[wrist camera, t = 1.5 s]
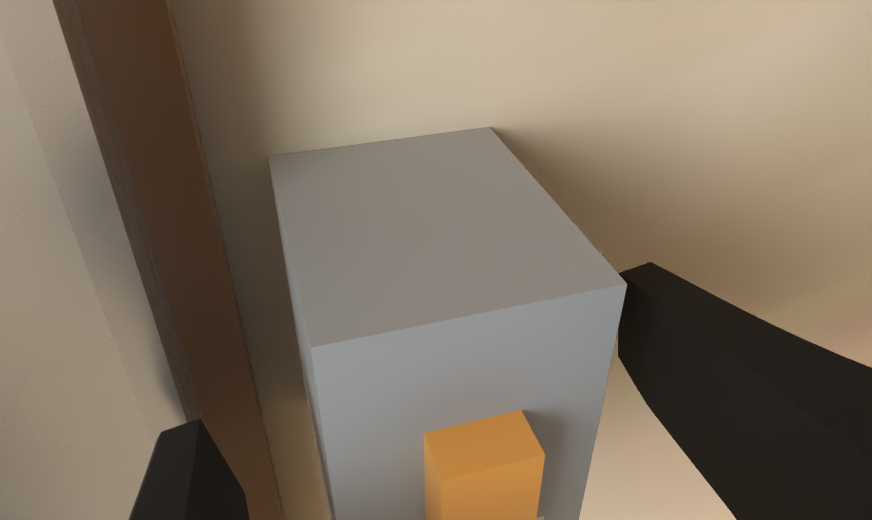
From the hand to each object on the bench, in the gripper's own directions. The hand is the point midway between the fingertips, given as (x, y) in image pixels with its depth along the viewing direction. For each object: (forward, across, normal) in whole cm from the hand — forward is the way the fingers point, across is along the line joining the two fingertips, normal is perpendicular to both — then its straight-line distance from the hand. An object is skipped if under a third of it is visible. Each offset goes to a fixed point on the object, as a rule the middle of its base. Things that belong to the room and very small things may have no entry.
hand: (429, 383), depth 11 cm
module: (+3, 0, 0) cm, 3 cm away
